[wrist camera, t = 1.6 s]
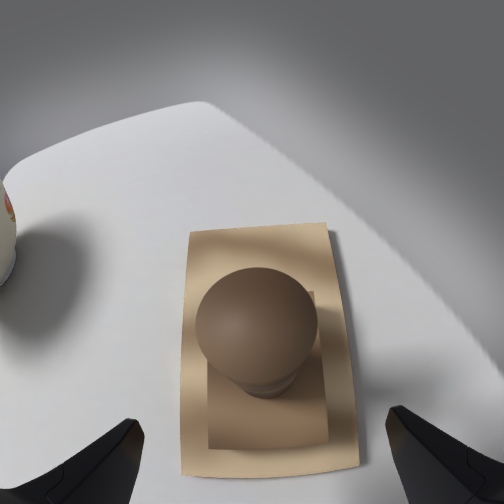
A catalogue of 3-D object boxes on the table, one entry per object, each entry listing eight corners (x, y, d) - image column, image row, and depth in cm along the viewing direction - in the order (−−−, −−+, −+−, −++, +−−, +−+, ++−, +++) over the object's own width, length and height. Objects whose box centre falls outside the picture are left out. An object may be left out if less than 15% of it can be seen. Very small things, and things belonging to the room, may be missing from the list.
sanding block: (321, 439, 16) (389, 470, 5) (216, 445, 16) (139, 479, 6) (309, 304, 21) (339, 189, 11) (215, 310, 21) (162, 201, 11)
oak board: (355, 463, 15) (359, 465, 14) (185, 472, 15) (181, 474, 15) (324, 229, 26) (325, 222, 25) (192, 238, 26) (190, 231, 25)
